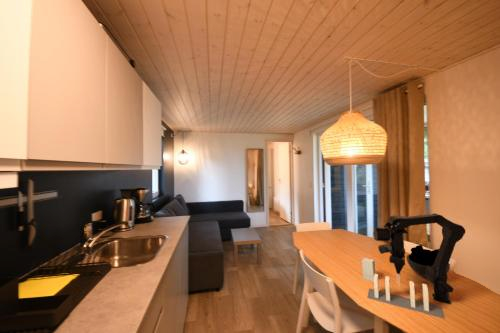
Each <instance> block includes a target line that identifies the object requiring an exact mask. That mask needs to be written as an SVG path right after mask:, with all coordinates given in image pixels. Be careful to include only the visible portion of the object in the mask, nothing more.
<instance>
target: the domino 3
mask: <svg viewBox="0 0 500 333" xmlns="http://www.w3.org/2000/svg"><path fill="white" fill-rule="evenodd" d="M395 278H396V286H397V287H401V286H402V283H401V282H402V280H401V278H402V277H401V273H400V274H398V273H397V272H396V271H395Z"/></svg>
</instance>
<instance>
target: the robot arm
mask: <svg viewBox="0 0 500 333" xmlns="http://www.w3.org/2000/svg"><path fill="white" fill-rule="evenodd" d="M429 224H430V225H431V224H437V225H438V226H440V227H441V235H442V240H441V243H440V245H439V248H438V249H439V251H438V254H437V257H436V259H435V262H434V264H433V265H432V266H431V267H430V266H427V269H426V271H425V273H426V277H427V278H426V279H427V280H428V281H429V282H430V284H432V285H433V286H432V288H433V293H432V294H431V295H432V298H433V301H435V302H439V303H443V304H447V305H452V301H451V299H450V294H449V293H453V291H454V288H453V286H451V284H449V283H448V273H447V272H446V269H447V266H448V264H450V260H451V257H452V254H453V253H454V249H455V247H456V244H457V243H458V242H459V241H461V240H463V237H464V235H465V233H466V228H465V227H463V225H461V224H458V223H457V222H456V223H455V222H452V221H451V220H450V219H447V218H446V217H445V216H443V215H441V214H439V213H430V214H422V215H412V216H411V215H410V216H402V215H391V216H389V218H388V219H387V222H386V223H385V224H384V226H383V227H378V226H377V227H376V226H375V227H374V230H373V231H372V232H373V238H374V240H375V241H376V242H379V241H380V242H389V243H385V244H379V245H378V248H377V249H378V252H379V253H380V254H382V255H383V254H385V253H386V254H388V253H389V263H390V264H393V265H394V268H395V273H396V272H397V273H398V274H400V275H401V271H402V270H403V268H404V266H406V259H405V258H406V249H405V240H404V239H405V237H404V236H405V235H404V234H409V231H407V230H406V229H407V228H409V227H411V226H420V225H429Z"/></svg>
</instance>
